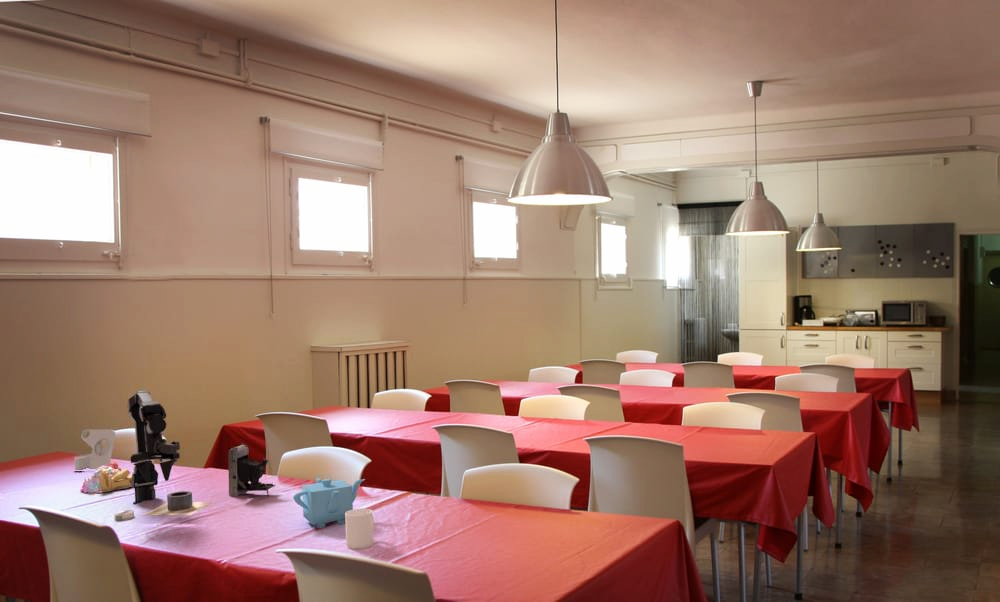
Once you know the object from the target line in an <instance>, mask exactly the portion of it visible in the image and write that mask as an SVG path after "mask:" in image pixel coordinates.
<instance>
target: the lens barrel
mask: <svg viewBox="0 0 1000 602" xmlns="http://www.w3.org/2000/svg"><path fill="white" fill-rule="evenodd" d="M166 501H167V502H166V503H167V504H168V510H170V511H179V510H185V509H189V508H191V507H192V502H193V492H192V491H189V490H188V491H187V490H184V491H183V490H182V491H175V492H171V493H168V494H167V495H166Z"/></svg>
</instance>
